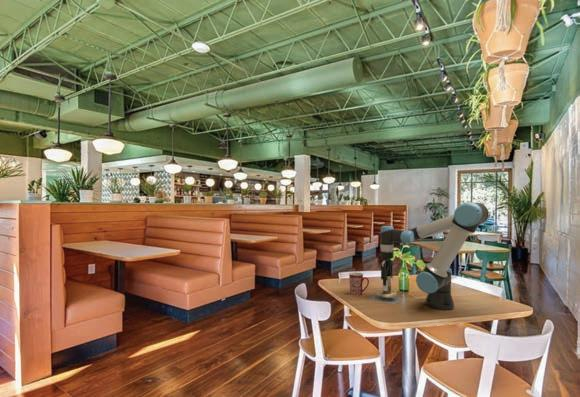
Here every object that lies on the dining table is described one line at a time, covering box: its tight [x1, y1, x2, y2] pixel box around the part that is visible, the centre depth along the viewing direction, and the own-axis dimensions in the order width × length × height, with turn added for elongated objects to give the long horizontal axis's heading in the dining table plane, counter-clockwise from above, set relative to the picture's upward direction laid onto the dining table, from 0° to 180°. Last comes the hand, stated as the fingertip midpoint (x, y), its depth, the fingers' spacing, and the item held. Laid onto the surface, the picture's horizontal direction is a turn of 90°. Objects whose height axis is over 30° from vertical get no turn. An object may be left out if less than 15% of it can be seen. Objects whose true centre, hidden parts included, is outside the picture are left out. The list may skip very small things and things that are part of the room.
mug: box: [348, 271, 370, 297], centre depth 203 cm, size 13×9×14 cm
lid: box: [376, 276, 398, 298], centre depth 195 cm, size 12×12×11 cm
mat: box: [368, 293, 404, 305], centre depth 195 cm, size 16×16×1 cm
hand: (386, 289), depth 195 cm, fingers closed on lid, 5 cm apart
